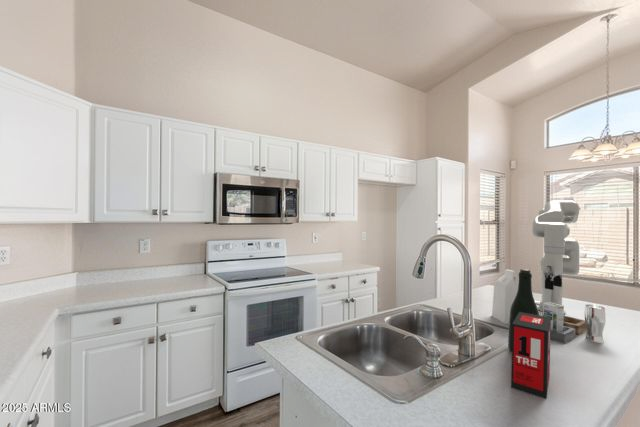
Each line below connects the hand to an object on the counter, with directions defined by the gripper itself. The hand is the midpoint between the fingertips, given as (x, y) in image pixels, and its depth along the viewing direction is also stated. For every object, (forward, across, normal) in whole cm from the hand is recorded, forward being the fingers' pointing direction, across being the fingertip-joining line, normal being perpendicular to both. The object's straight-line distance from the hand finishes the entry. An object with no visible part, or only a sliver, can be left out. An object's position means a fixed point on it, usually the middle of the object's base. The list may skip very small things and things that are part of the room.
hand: (553, 287), depth 140 cm
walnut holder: (+22, -16, 0) cm, 27 cm away
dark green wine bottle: (+21, +33, +1) cm, 39 cm away
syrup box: (+22, +1, 0) cm, 22 cm away
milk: (+22, -5, -21) cm, 31 cm away
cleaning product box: (+21, +55, +12) cm, 60 cm away
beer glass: (+22, -9, +13) cm, 27 cm away
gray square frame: (+22, +1, 0) cm, 22 cm away
